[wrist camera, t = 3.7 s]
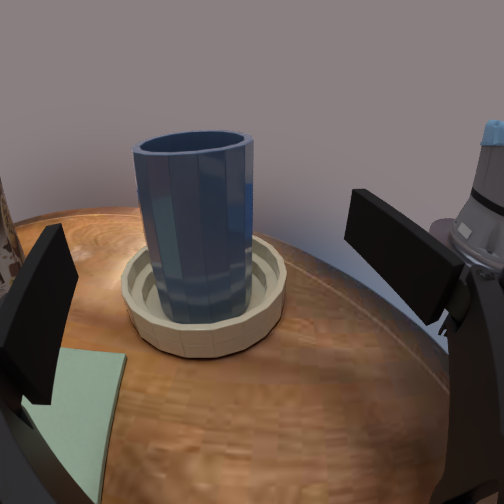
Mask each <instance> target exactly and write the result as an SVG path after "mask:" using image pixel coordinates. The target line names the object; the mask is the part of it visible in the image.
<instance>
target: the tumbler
mask: <svg viewBox="0 0 504 504" xmlns="http://www.w3.org/2000/svg"><path fill="white" fill-rule="evenodd" d="M131 151H132V159H133V167H134V175H135V182H136V189H137V195H138V202H139V208H140V214H141V219H142V225H143V230H144V236H145V241H146V246H147V251H148V255H149V260H150V265H151V269H152V274H153V278H154V282H155V287H156V291H157V295H158V298H159V301H160V305H161V308H162V311H163V312H164V314H165V315H166V316H167V317H168V318H169V319H170V320H171V321H173V322H175V323H179V324H212V323H216V322H220V321H224V320H228V319H231V318H235V317H239V316H241V315H242V314H243V313H244V312H245V311H246V310H247V308H248V306H249V304H250V301H251V295H252V222H253V138H252V136H250V135H248V134H245V133H242V132H235V131H228V130H195V131H184V132H177V133H170V134H165V135H160V136H157V137H152V138H149V139H146V140H144V141H141V142H139V143H137V144H136V145H134V146H133V147H132V148H131Z"/></svg>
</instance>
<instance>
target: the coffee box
mask: <svg viewBox="0 0 504 504" xmlns="http://www.w3.org/2000/svg"><path fill="white" fill-rule="evenodd" d="M25 260H26V258H25V255H24V252H23V250H22V247H21V244H20V241H19V239H18V236H17V233H16V230H15V227H14V224H13V221H12V218H11V215H10V212H9V209H8V205H7V202H6V199H5V194H4V191H3V187H2V183H1V179H0V299H1V298H2V296H3V295H4V294H5V293H8V291H9V289H10V287H11V285H12V283H13V281H14V279H15V277H16V276H17V274H18V272H19V270H20V268H21V267H22V265H23V263H24V261H25Z"/></svg>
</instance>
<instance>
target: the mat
mask: <svg viewBox="0 0 504 504" xmlns="http://www.w3.org/2000/svg"><path fill="white" fill-rule="evenodd" d="M126 359H127V356H126V354H124V353H110V352H99V351H88V350H79V349H70V348H63V347H60V351H59V356H58V362H57V367H56V373H55V379H54V386H53V393H52V401H51V405H32V404H31V403H30V402H29V401H28V399H27V398H26V397H25V396H24V395H23V397H22V403H21V404H22V405H23V406H24V407H25V408H26V410H27V411H28V413H29V415H30V417H31V418H32V420H33V422H34V423H35V425H36V427H37V428H38V430H39V431H40V433H41V435H42V436H43V438H44V439H45V441H46V442H47V444H48V445H49V447H50V448H51V450H52V451H53V453H54V454H55V455H56V457H57V458H58V460H59V461H60V462H61V464H62V465H63V466H64V468H65V469H66V470H67V471H68V473H69V474H70V475H71V477H72V478H73V479H74V480H75V481H76V483H77V484H78V485H79V486H80V487H81V489H82V490H83V491H84V492H85V493H86V494H87V496H88V497H89V498H90V499H91V500H92V501H93V502H94V503H95V504H101V494H102V485H103V477H104V470H105V463H106V456H107V450H108V444H109V438H110V432H111V427H112V422H113V416H114V411H115V407H116V402H117V397H118V393H119V388H120V384H121V379H122V375H123V371H124V367H125V363H126Z"/></svg>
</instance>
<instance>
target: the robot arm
mask: <svg viewBox="0 0 504 504" xmlns="http://www.w3.org/2000/svg"><path fill="white" fill-rule="evenodd" d="M480 145H482V148H481V152H480V157H479V161H478V166H477V170H476V174H475V178H474V183H473V187H472V190H471V194H470V197H469V199H468V201H467V202H466V204H465V205H464V207H463V208H462V210H461V211H460V213H459V215H458V217H457V218H456V219H455V220H454V221H453V223H452V225H451V228H450V232H449V238H450V241H451V242H452V244H453V245H454V246H455V248H456V249H457V250H458V251H459V252H460V253H462V254H463V255H464V256H465V257H466V258H468V259H469V260H471V261H472V262H474V263H475V265H472V266H471V268H470V267H469V266H468V265H467V264H465V263H466V262H464V261H463V260H462V259H461V258H460V257H458V256H457V255H456V254H455V253H454V252H452V251H451V250H450V249H449V248H447V247H446V246H445V245H444V244H442V243H441V242H440V241H438V240H437V239H436V238H435V237H433V236H432V235H431V234H429V233H428V232H427V231H425V230H424V229H423V228H421V227H420V226H418V225H417V224H416V223H414V222H413V221H412V220H410V219H409V218H407V217H406V216H405V215H403V214H402V213H400V212H399V211H397V210H396V209H395V208H393V207H392V206H390V205H389V204H387V203H386V202H384V201H383V200H381V199H380V198H378V197H377V196H375V195H374V194H372V193H371V192H369V191H368V190H366V189H353V190H352V196H351V202H350V208H349V214H348V219H347V225H346V231H345V236H344V240H346V241H347V242H348V243H349V244H350V245H351V246H352V247H353V248H354V249H355V250H356V251H357V252H358V253H359V254H360V255H361V256H362V257H363V258H364V259H365V260H366V261H367V262H368V263H369V264H370V265H371V266H372V268H374V269H375V270H376V272H377V273H378V274H380V276H381V277H382V278H383V279H384V280H385V281H386V282H387V283H388V284H389V285H390V286H391V287H392V288H393V290H394V291H395V292H396V293H397V294H398V295H399V296H400V297H401V298H402V299H403V300H404V301H405V303H406V304H407V305H408V306H409V307H410V308H411V309H412V310H413V311H414V312H415V314H416V315H417V316H418V317H419V318H420V319H421V320H422V321H423V323H424V324H425V325H426V326H427V325H430V324H432V323H434V322H436V321H438V320H439V318H440V316H441V315H442V313H443V311H444V309H446V310H447V311H448V312H449V314H448V315H447V317H446V319H445V321H444V323H443V325H442V327H441V328H440V330H439V333H438V335H441V334H442V332H443V330H444V329H447V331H446V332H445V334H444V336H446V337H447V339H448V353H449V374H450V409H449V430H448V443H447V453H446V461H445V469H444V473H443V476H442V478H441V480H440V481H439V483H438V484H437V485H436V487H435V489H434V491H433V493H432V495H431V499H430V503H429V504H476V503H477V502H478V501H479V500H481V499H483V498H486V497H488V496H490V495H492V494H494V493H496V492H498V491H499V494H498V502H497V504H504V122H503V121H499V120H490V121H488V122H487V124H486V125H485V130H484V134H483V139H482V142H481V144H480ZM493 272H496V273H500V275H499V276H495V274H494V273H493ZM78 278H79V276H78V274H77V271H76V268H75V265H74V262H73V259H72V257H71V254H70V251H69V247H68V244H67V241H66V238H65V235H64V231H63V228H62V224H61V223H59V224H54V225H49V226H46V227H45V229H44V230H43V232H42V233H41V235H40V237H39V238H38V240H37V241H36V243H35V244H34V246H33V248H32V249H31V251H30V253H29V254H28V256H27V258H26V260H25V261H24V263H23V265H22V267H21V268H20V270H19V272H18V274H17V276H16V277H15V279H14V281H13V283H12V285H11V287H10V289H9V291H8V293H5V294H4V295H3V296H2V298H1V299H0V504H95V503H94V502H93V501H92V500H91V499H90V498H89V497H88V496H87V494H86V493H85V492H84V491H83V490H82V489H81V487H80V486H79V485H78V484H77V483H76V481H75V480H74V479H73V478H72V477H71V475H70V474H69V473H68V471H67V470H66V469H65V468H64V466H63V465H62V464H61V462H60V461H59V460H58V458H57V457H56V455H55V454H54V453H53V451H52V450H51V448H50V447H49V445H48V444H47V442H46V441H45V439H44V438H43V436H42V435H41V433H40V431H39V430H38V428H37V427H36V425H35V423H34V422H33V420H32V418H31V417H30V415H29V413H28V411H27V410H26V408H25V407H24V406H23V405H22V404H21V403H22V397H23V395H24V396H25V397H26V398H27V399H28V401H29V402H30V403H31V404H32V405H51V401H52V393H53V386H54V379H55V373H56V367H57V362H58V356H59V351H60V347H61V342H62V337H63V333H64V329H65V324H66V320H67V316H68V313H69V309H70V305H71V301H72V298H73V294H74V291H75V288H76V284H77V281H78Z"/></svg>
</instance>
